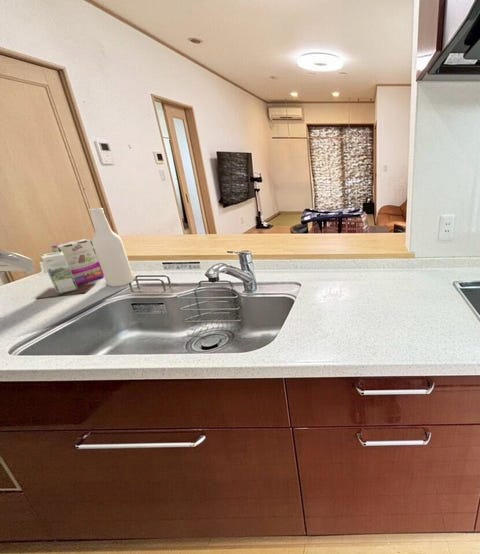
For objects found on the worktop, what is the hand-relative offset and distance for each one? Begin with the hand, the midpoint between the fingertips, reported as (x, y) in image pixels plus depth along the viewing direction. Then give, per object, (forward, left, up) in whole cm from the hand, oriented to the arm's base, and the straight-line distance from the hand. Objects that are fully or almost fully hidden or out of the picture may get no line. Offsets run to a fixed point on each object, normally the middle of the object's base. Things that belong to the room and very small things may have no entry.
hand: (17, 272), depth 96 cm
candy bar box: (+6, +22, -13) cm, 26 cm away
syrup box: (+4, +12, -13) cm, 18 cm away
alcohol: (+20, +15, -13) cm, 28 cm away
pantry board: (+4, +12, -13) cm, 18 cm away
